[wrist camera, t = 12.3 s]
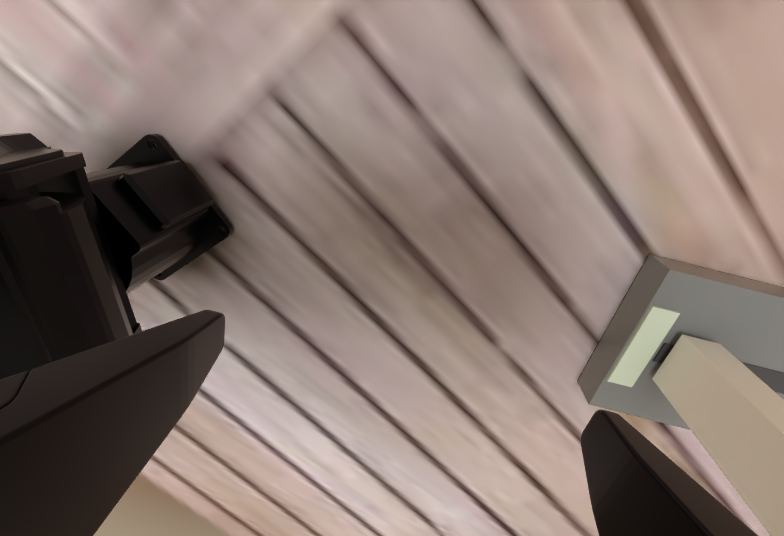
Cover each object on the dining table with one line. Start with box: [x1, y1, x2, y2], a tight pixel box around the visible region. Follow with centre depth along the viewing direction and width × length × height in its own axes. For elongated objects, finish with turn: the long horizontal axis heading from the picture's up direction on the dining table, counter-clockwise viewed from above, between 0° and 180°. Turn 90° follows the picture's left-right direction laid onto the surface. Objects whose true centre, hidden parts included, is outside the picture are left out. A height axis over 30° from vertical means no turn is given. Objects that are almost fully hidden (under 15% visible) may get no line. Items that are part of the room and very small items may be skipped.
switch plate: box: [578, 254, 784, 430], centre depth 21 cm, size 12×9×2 cm
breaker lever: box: [652, 334, 784, 536], centre depth 15 cm, size 2×4×11 cm, turn 167°
